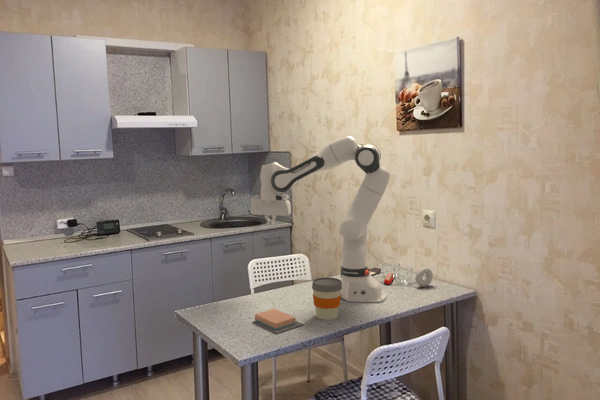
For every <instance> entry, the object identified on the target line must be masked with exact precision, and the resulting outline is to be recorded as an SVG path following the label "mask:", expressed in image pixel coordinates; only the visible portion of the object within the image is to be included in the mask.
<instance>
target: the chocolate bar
mask: <svg viewBox="0 0 600 400" xmlns="http://www.w3.org/2000/svg"><path fill="white" fill-rule="evenodd" d="M381 269H382V268H380V267H372V268H370V274H369V275H371V276H372V277H374V276H377V275H380V273H381ZM376 274H377V275H376ZM381 274H382V273H381Z"/></svg>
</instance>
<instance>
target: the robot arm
mask: <svg viewBox="0 0 600 400" xmlns="http://www.w3.org/2000/svg"><path fill="white" fill-rule="evenodd" d="M381 156H382V155H381V151H380V149H379V148H378V147H377V146H376V145H372V144H370V143H368V144H362V143H361V144H360V143H358V141H357V139H355V137H353V136H351V135H345V136H344V137H340V138H337V139H336V140H333V141H331V142H329V143H328V144H326V145H324V146H323V147H322V148H320V149H319V150H317V152H315V153H314V154H312V156H310V157H309V158H308V159H306V160H304V161H303V162H301V163H299V164H297V165H295V166H292V167H291V168H288V167H286V166H283V165H281V164H279V163H278V162H277V161H269V162H266V163H264V164H262V165H261V168H260V183H261V186H260V194H259V195H257V194H255V195H252V196H251V197H250V207H249V208H250V209H249V212H250V214H251V215H259V216H262V215H263V216H264V219H265V220H266V224H267V225H274V224H275V220H276V218H277V217H278V216H281V217H282V216H283V217H288V216H290V215H291V213H292V208H291V207H292V206H291V202H290V200H289V198H290V196H289V195H288V194H286V192H287V191H289V190H291V189H294V188H295V187H297V185H298V184H299V181H300V180H301V179H304V178H306V177H307V176H309V175H312V174H313V173H317V172H322V171H327V170H331V169H334V168H337V167H338V166H340V165H342V164H345V163H346V162H348V161H354V162H355V163H356V165H357V167H359V168H360V169H361V170H362V171H363V172H364V173H365V175H364V178H363V180H362V182H361V184H360V186H359V188H358V190H357V191H356V194H355V196H354V198H353V199H352V202H351V203H350V205H349V207H348V209H347V211H346V212H345V215H344V217H343V218H342V220H341V222H340V224H339V232H340V235H341V236H342V238H343V239H342V248H341V265H340V278H341V279H340V280H341V282H342V289H341V299H344V300H345V301H347V302H353V303H357V302H358V303H359V302H360V303H382V302H384V301H385V300H386V299H387V297H388V296H387V293H386V292H384V291H382V285H381V283H380V282H379V280H377V279H376V278H374V276H371V275H369V274H370V269H371V268H370V267H367V266H366V249H367V237H368V236H367V235H368V225H369V223H370V221H371V219H372V217H373V215H374V213H375V211H376V209H377V208H378V206H379V203H380V202H381V200H382V197H383V195H384V193H385V192H386V190H387V187H388V184H389V181H390V177H391V175H390V174H391V173H390V171H389V170H388V169H387V168H386V167H384V166H383V165H381ZM270 216H271V218H272V219H270V218H269V217H270Z"/></svg>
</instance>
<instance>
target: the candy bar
mask: <svg viewBox="0 0 600 400" xmlns="http://www.w3.org/2000/svg"><path fill="white" fill-rule="evenodd" d="M393 274H394V273H393V272H389V273H388V274H387V275H386V277H385V278H384V281H383V283H384V284H386V285H388V284H390V283H391V282H393V281H394V279H393ZM392 280H393V281H392ZM391 284H392V283H391ZM391 284H390V285H391Z"/></svg>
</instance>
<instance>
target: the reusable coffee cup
mask: <svg viewBox="0 0 600 400" xmlns="http://www.w3.org/2000/svg"><path fill="white" fill-rule="evenodd" d="M311 289H312V291H313V293H312V300H313V305H314V307H315V313H316V315H315V316H316V317H317V318H318V319H319V320H326V321H330V320H335V319H337V318H338V317H339V309H340V306H341V303H342V302H341V301H342V298H341V289H342V282H341V279H339V278H335V277H330V276H329V277H328V276H327V277H325V276H324V277H317V278H315V279H313V280H312V284H311Z"/></svg>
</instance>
